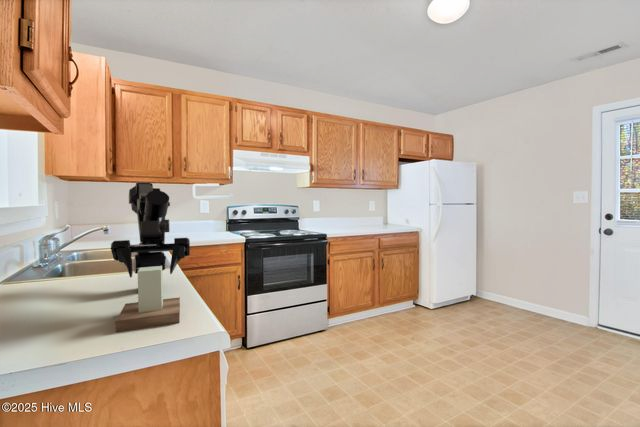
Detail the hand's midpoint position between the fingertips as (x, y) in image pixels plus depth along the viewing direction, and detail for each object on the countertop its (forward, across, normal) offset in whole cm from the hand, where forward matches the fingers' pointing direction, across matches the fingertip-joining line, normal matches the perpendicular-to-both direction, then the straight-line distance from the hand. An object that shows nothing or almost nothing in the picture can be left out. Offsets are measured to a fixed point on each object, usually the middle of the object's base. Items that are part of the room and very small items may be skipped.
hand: (151, 274), depth 80 cm
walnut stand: (+9, 0, +5) cm, 11 cm away
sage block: (+8, 0, +4) cm, 8 cm away
